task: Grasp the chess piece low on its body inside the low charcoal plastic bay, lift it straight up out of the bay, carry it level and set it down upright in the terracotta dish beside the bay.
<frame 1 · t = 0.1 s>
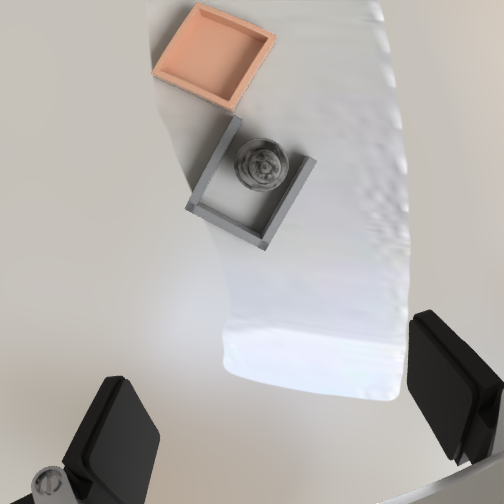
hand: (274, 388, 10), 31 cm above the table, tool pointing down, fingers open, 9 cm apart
chess piece: (260, 163, 38), on the table
cubby: (254, 174, 38), on the table
dish: (215, 59, 33), on the table
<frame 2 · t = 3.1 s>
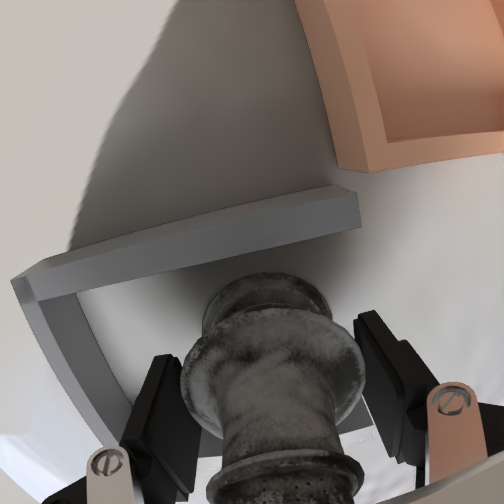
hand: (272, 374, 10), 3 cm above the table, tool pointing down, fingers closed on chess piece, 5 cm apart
chess piece: (267, 331, 13), on the table, touching gripper
cubby: (231, 341, 13), on the table
dish: (424, 28, 9), on the table
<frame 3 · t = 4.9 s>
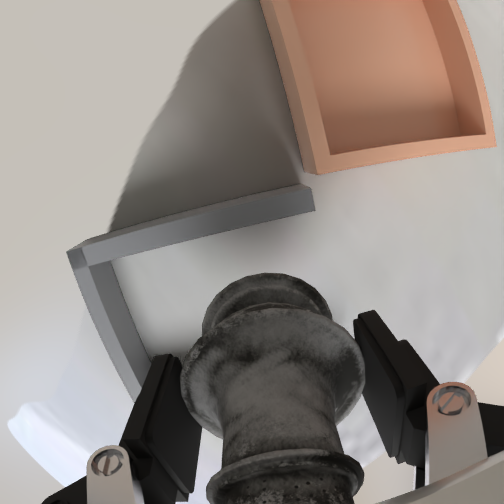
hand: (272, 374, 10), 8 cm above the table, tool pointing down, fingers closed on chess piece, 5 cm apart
chess piece: (267, 331, 13), point 5 cm above the table, touching gripper
cubby: (229, 299, 18), on the table
dish: (373, 63, 14), on the table
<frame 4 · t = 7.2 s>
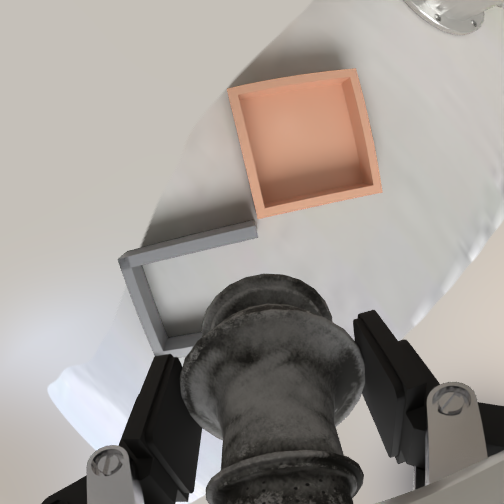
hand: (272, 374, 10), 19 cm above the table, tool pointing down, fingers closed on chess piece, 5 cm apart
chess piece: (267, 332, 13), point 16 cm above the table, touching gripper
cubby: (213, 287, 30), on the table
dish: (302, 141, 26), on the table
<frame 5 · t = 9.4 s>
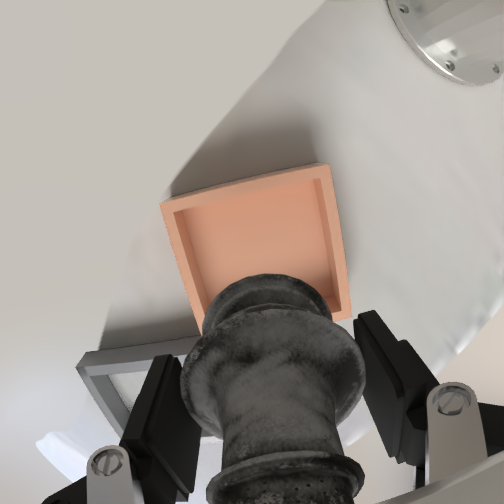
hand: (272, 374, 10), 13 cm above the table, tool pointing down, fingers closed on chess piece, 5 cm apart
chess piece: (267, 332, 13), point 11 cm above the table, touching gripper
cubby: (173, 389, 27), on the table
dish: (260, 250, 23), on the table
when the fingers open (5 cm above the table, at t = 11.4 s): chess piece drops 1 cm, resting on dish.
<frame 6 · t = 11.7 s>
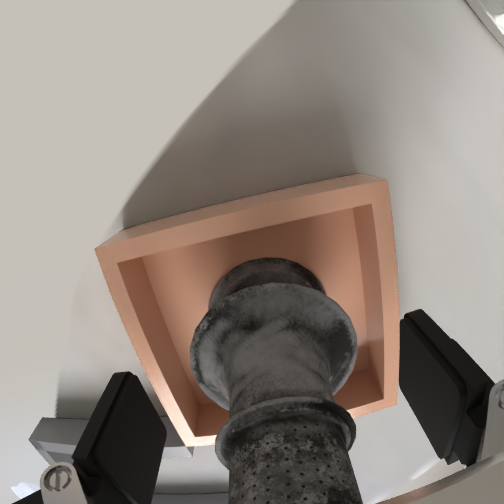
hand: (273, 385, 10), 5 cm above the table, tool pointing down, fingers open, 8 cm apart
chess piece: (268, 312, 14), resting on dish
cubby: (151, 466, 18), on the table
dish: (265, 311, 15), on the table
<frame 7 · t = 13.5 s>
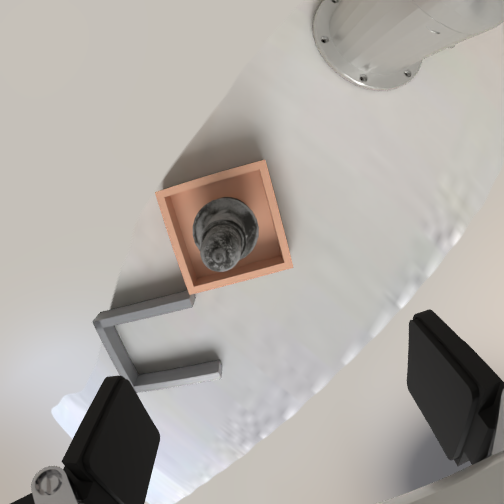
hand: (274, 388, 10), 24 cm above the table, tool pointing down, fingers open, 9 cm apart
chess piece: (227, 223, 32), resting on dish
cubby: (167, 339, 36), on the table
dish: (226, 224, 33), on the table
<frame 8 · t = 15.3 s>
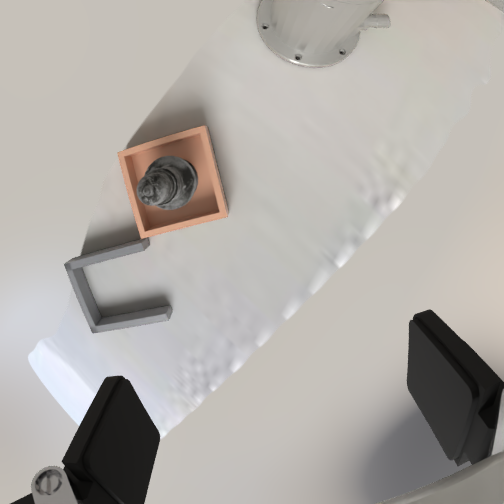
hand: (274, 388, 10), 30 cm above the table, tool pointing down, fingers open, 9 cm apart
chess piece: (176, 180, 37), resting on dish
cubby: (126, 283, 41), on the table
dish: (176, 181, 37), on the table
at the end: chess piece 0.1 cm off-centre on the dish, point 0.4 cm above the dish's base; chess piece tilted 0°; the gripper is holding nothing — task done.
